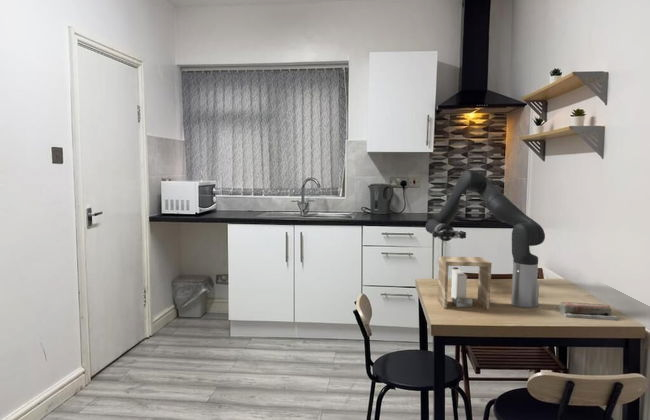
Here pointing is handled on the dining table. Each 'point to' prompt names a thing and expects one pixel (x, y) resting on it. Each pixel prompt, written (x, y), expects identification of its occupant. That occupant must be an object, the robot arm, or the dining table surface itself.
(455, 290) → the white box
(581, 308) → the packaged product
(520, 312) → the dining table surface
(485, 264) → the wooden arch
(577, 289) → the dining table surface
